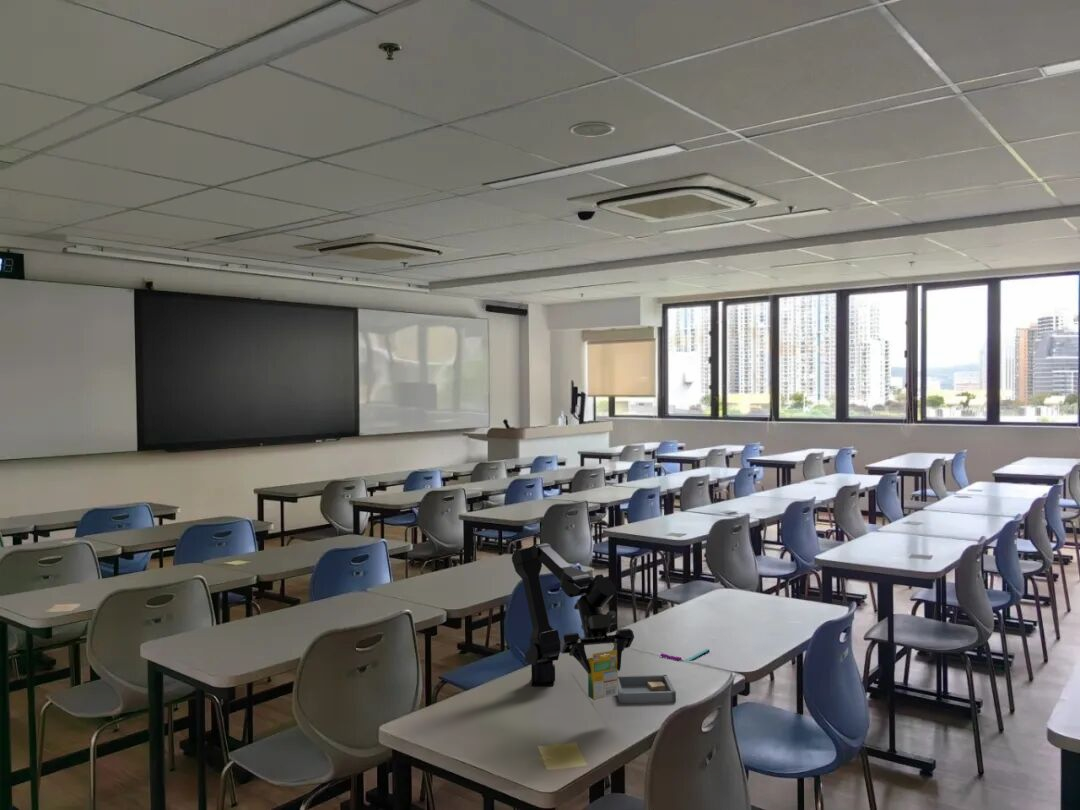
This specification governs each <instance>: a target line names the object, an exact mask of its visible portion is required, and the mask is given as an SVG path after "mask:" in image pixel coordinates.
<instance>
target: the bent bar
mask: <svg viewBox="0 0 1080 810" xmlns="http://www.w3.org/2000/svg"><path fill="white" fill-rule="evenodd" d="M706 652H707V653H710V649H709V648H706V649H703V650H702V651H700V652H698V653H696V654H695V655H692V656H691V657H689V658H685V659H682V657H680V656H675V655H669V654H667V653H663V652H662V653H661V654H660V655H659V657H660V656H662V657H661V658H663V657H667V658H666V659H668V658H671V659H670V660H672V659H675V660H674V661H676V660H678V661H677V662H680V661H679V660H682V661H681V662H682V663H687V662H690V661H693V660H695V659H697V658H698V657H700V655H701V656H703V655H704V653H705V654H707V653H706ZM702 654H703V655H702Z"/></svg>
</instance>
